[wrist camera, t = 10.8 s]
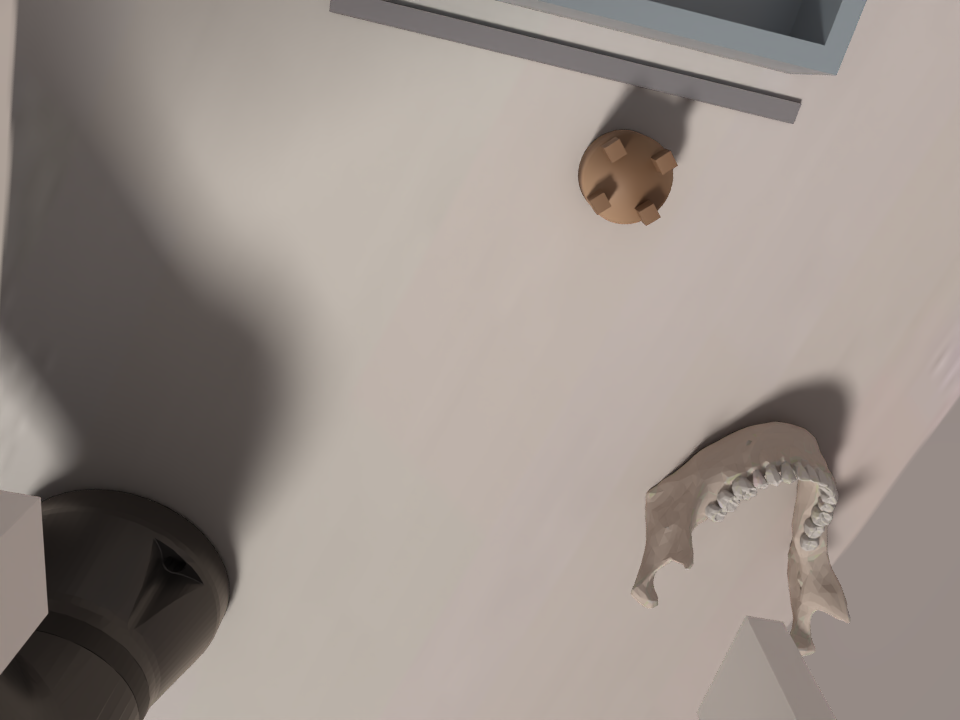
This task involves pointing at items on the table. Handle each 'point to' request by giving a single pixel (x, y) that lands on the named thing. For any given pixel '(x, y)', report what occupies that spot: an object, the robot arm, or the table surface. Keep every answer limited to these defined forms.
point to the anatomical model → (728, 479)
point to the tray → (730, 27)
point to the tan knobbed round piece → (626, 177)
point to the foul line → (567, 57)
